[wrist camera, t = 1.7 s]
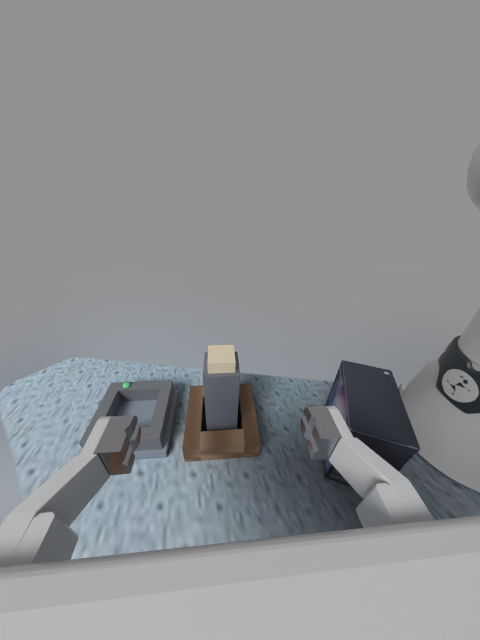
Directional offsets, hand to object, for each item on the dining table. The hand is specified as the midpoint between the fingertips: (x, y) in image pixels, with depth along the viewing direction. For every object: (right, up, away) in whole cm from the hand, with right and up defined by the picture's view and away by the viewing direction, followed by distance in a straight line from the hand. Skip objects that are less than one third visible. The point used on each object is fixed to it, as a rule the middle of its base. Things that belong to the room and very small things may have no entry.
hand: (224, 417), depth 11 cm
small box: (+15, -13, +19) cm, 28 cm away
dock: (-14, -10, +20) cm, 27 cm away
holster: (-2, -10, +21) cm, 23 cm away
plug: (-2, -10, +21) cm, 23 cm away
